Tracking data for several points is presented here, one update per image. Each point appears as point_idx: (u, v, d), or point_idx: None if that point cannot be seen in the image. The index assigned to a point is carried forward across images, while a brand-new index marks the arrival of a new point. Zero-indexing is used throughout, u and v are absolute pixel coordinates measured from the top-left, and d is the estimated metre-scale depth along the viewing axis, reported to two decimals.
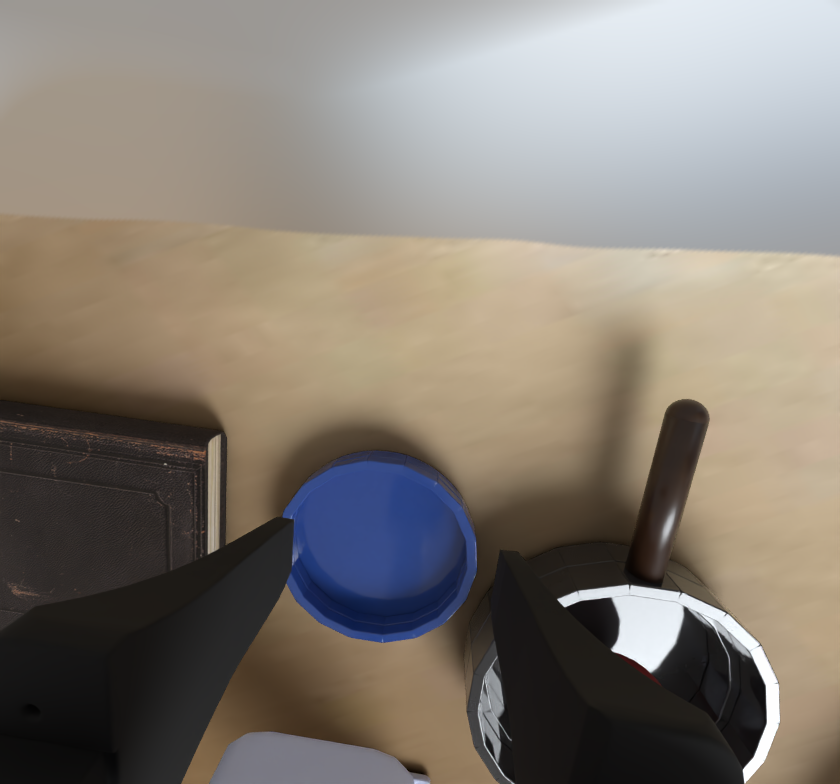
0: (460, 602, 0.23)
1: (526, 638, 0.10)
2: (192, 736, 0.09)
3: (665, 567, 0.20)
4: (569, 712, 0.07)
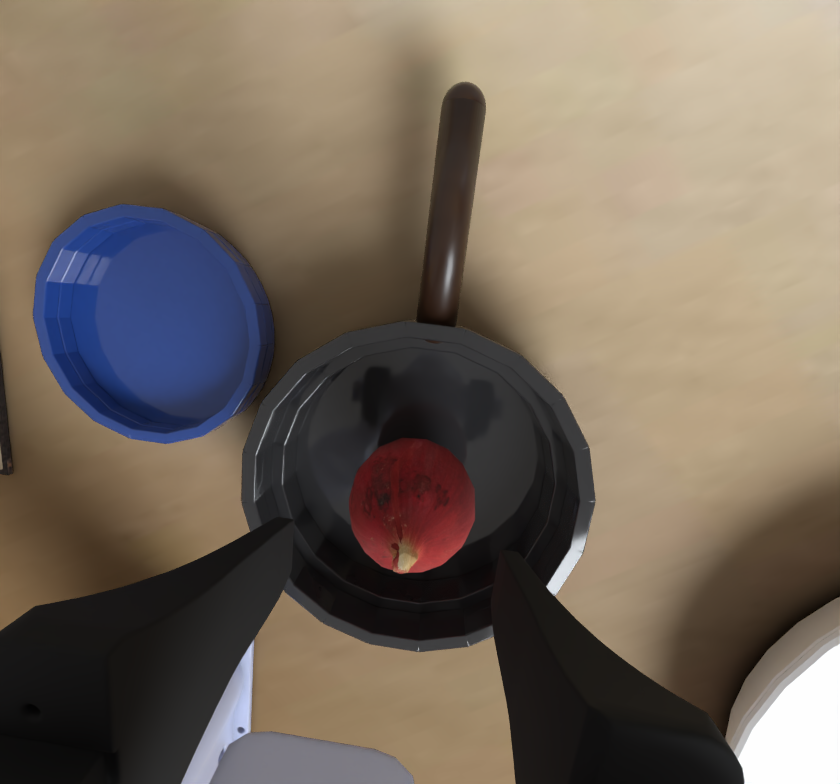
0: (246, 387, 0.20)
1: (526, 638, 0.10)
2: (192, 736, 0.09)
3: (449, 304, 0.17)
4: (569, 712, 0.07)
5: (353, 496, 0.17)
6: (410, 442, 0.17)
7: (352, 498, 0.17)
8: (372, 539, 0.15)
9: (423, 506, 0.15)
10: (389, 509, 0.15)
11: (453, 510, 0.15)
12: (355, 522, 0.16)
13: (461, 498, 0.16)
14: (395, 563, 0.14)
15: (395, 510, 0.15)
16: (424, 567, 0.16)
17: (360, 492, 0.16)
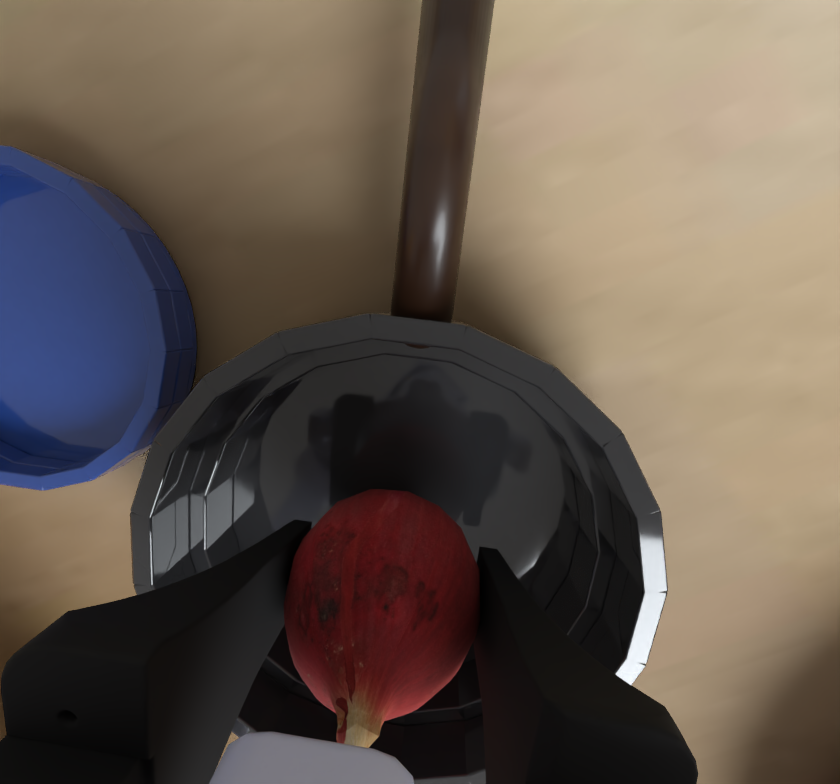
0: (149, 412, 0.14)
1: (498, 634, 0.10)
2: (218, 740, 0.09)
3: (441, 286, 0.10)
4: (529, 706, 0.07)
5: (289, 589, 0.11)
6: (380, 500, 0.11)
7: (288, 592, 0.11)
8: (309, 677, 0.09)
9: (393, 626, 0.09)
10: (335, 631, 0.09)
11: (445, 625, 0.09)
12: (288, 637, 0.10)
13: (459, 600, 0.10)
14: (341, 740, 0.08)
15: (346, 635, 0.09)
16: (398, 716, 0.10)
17: (297, 586, 0.10)
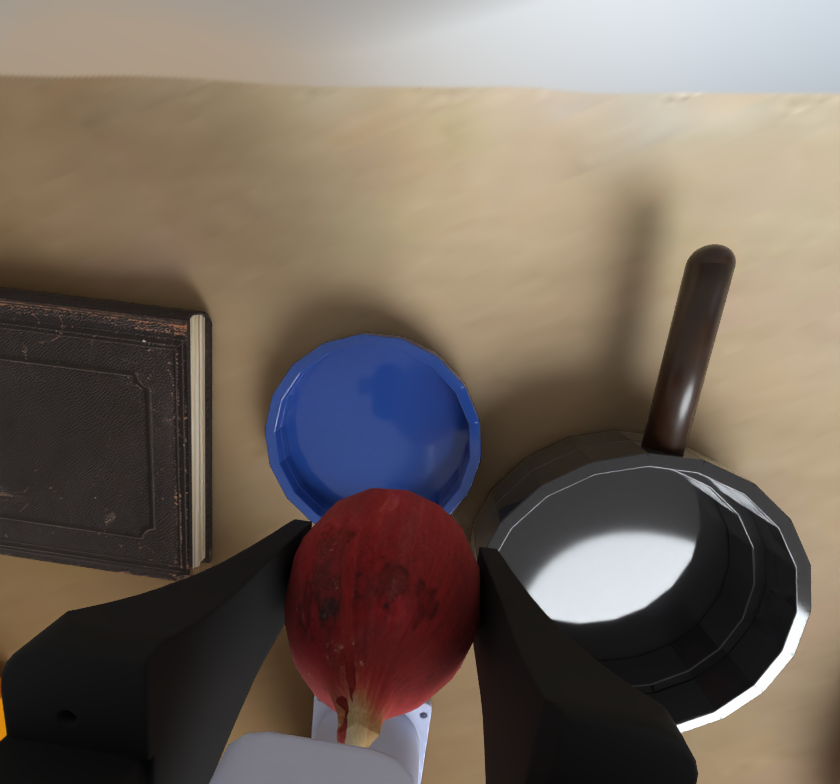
0: (463, 494, 0.21)
1: (498, 634, 0.10)
2: (218, 740, 0.09)
3: (686, 436, 0.18)
4: (529, 705, 0.07)
5: (289, 588, 0.11)
6: (381, 499, 0.11)
7: (288, 590, 0.11)
8: (310, 676, 0.09)
9: (393, 625, 0.09)
10: (336, 629, 0.09)
11: (445, 624, 0.09)
12: (288, 636, 0.10)
13: (459, 599, 0.10)
14: (341, 738, 0.08)
15: (346, 633, 0.09)
16: (398, 715, 0.10)
17: (297, 585, 0.10)
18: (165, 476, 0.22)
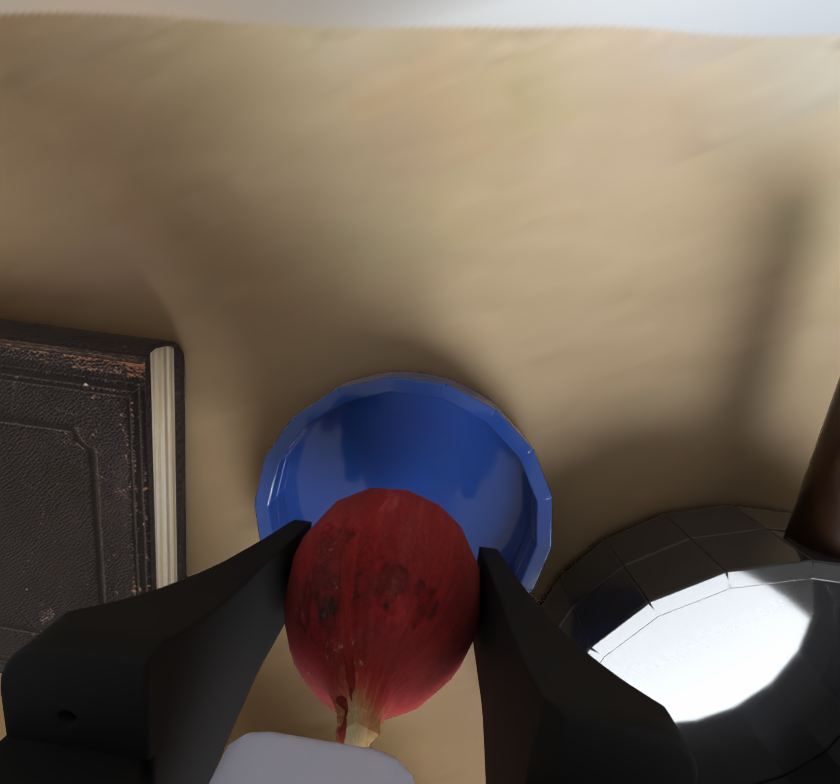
0: None
1: (498, 634, 0.10)
2: (218, 740, 0.09)
3: None
4: (529, 705, 0.07)
5: (289, 588, 0.11)
6: (380, 499, 0.11)
7: (287, 590, 0.11)
8: (310, 675, 0.09)
9: (393, 625, 0.09)
10: (335, 629, 0.09)
11: (445, 623, 0.09)
12: (288, 635, 0.10)
13: (459, 598, 0.10)
14: (341, 738, 0.08)
15: (346, 633, 0.09)
16: None
17: (297, 585, 0.10)
18: (120, 564, 0.16)
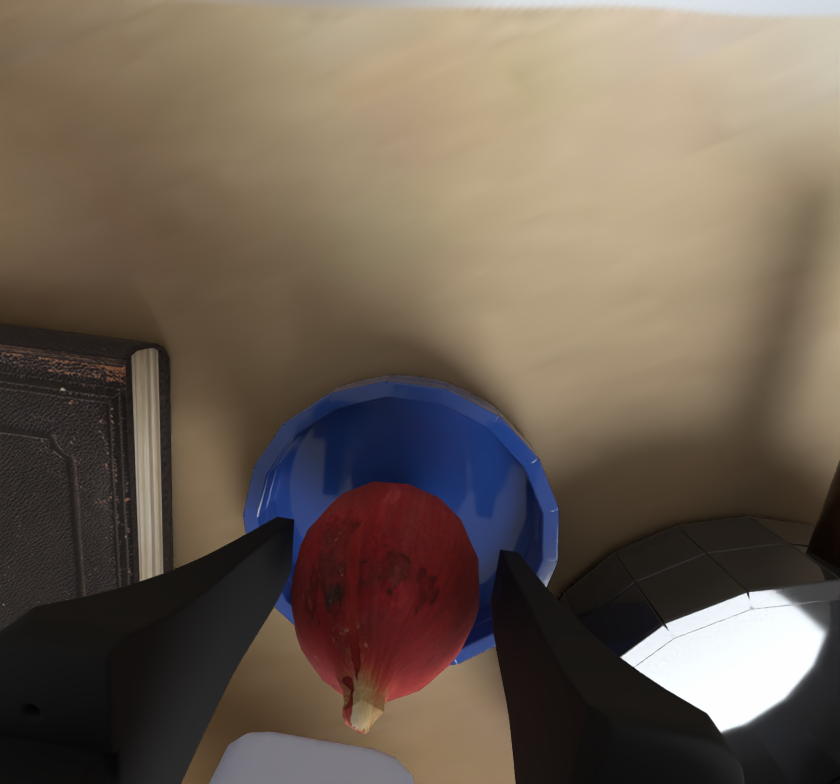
0: None
1: (526, 638, 0.10)
2: (192, 736, 0.09)
3: None
4: (569, 712, 0.07)
5: (295, 577, 0.11)
6: (383, 492, 0.12)
7: (294, 579, 0.11)
8: (316, 658, 0.10)
9: (396, 609, 0.09)
10: (341, 614, 0.09)
11: (445, 609, 0.10)
12: (295, 622, 0.10)
13: (458, 586, 0.10)
14: (347, 715, 0.08)
15: (352, 618, 0.09)
16: None
17: (303, 574, 0.11)
18: (101, 579, 0.15)
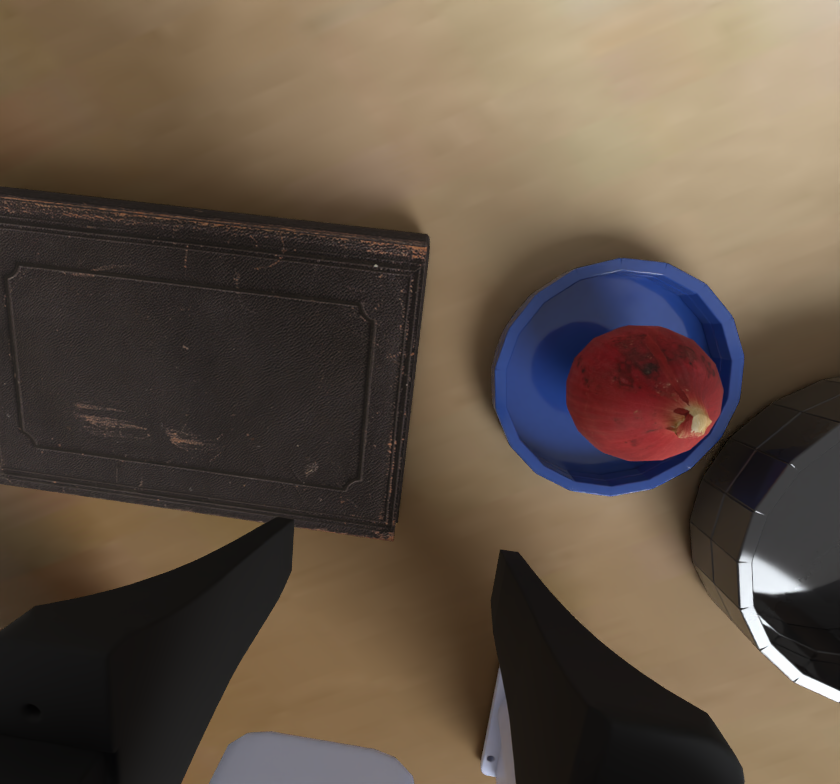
0: (714, 441, 0.19)
1: (526, 638, 0.10)
2: (192, 736, 0.09)
3: None
4: (569, 712, 0.07)
5: (592, 378, 0.16)
6: None
7: (588, 381, 0.16)
8: (637, 412, 0.14)
9: (698, 373, 0.14)
10: (661, 376, 0.14)
11: (719, 383, 0.14)
12: (602, 401, 0.15)
13: None
14: (687, 426, 0.13)
15: (670, 377, 0.14)
16: (685, 446, 0.15)
17: (605, 370, 0.15)
18: (381, 421, 0.20)
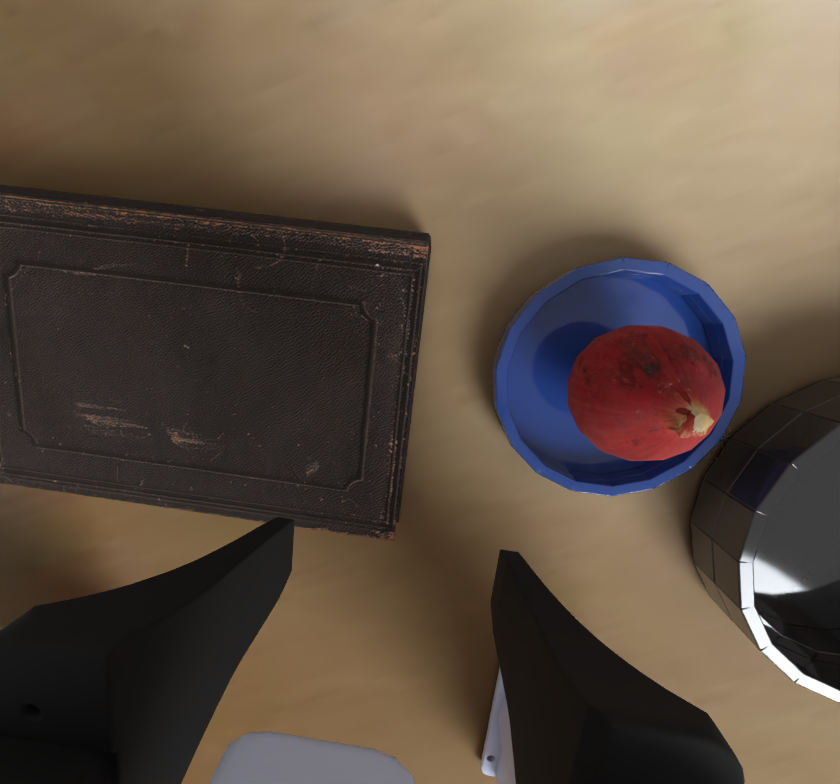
0: (715, 441, 0.19)
1: (526, 638, 0.10)
2: (192, 736, 0.09)
3: None
4: (569, 712, 0.07)
5: (593, 377, 0.16)
6: (643, 325, 0.16)
7: (590, 381, 0.16)
8: (638, 412, 0.14)
9: (700, 373, 0.14)
10: (663, 376, 0.14)
11: (721, 383, 0.14)
12: (604, 401, 0.15)
13: (720, 374, 0.15)
14: (689, 425, 0.13)
15: (673, 376, 0.14)
16: (686, 446, 0.15)
17: (607, 370, 0.15)
18: (382, 420, 0.20)
